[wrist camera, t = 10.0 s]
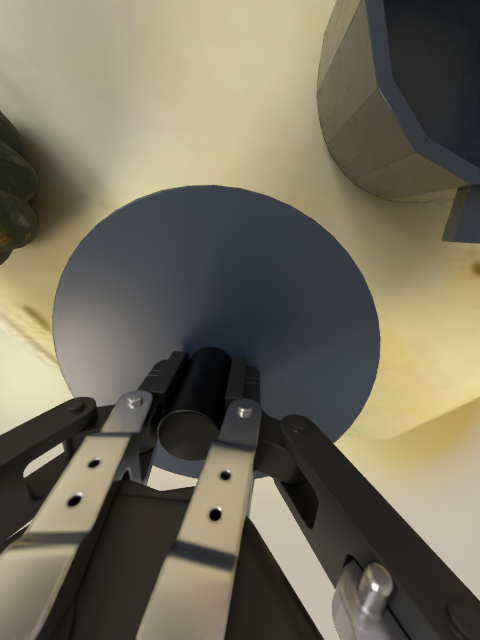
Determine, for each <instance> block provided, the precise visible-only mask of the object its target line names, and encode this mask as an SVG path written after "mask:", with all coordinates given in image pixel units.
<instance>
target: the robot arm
mask: <svg viewBox="0 0 480 640" xmlns="http://www.w3.org/2000/svg"><path fill="white" fill-rule="evenodd" d="M188 363H189V354H188V352H182V351H173V353H172V354H171V356H170V357H169V359H168V360H165V359H163V360H161V361H159V362H158V363H156V364H155V365H154V367H153V368H152V369H151V371H150V372H149V374H148V376H146V378H145V379H144V380H143V382H142V383H141V385H140V386H139V387H138V389H137V390H135V391H131V392H128V393H126V394H124V395H123V396H121V397H120V398H119V400H118V401H117V403H116V404H114V405H107V406H100V407H97V405H96V401H95V400H94V399H93V398H91V397H77V398H74V399H71V400H68V401H66V402H64V403H62V404H60V405H58V406H56V407H54V408H52V409H51V410H49V411H47V412H45V413H43V414H41V415H39V416H37V417H35V418H33V419H31V420H29V421H27V422H25V423H23V424H21V425H19V426H17V427H16V428H14V429H12V430H10V431H8V432H6V433H4V434H2V435H0V640H324V638H323V637H322V635H321V634H320V632H319V630H318V629H317V627H316V625H315V624H314V622H313V620H312V619H311V617H310V615H309V614H308V612H307V611H306V609H305V607H304V606H303V604H302V603H301V601H300V599H299V598H298V596H297V594H296V593H295V591H294V590H293V588H292V586H291V584H290V583H289V581H288V580H287V578H286V576H285V575H284V573H283V572H282V570H281V568H280V566H279V565H278V563H277V562H276V560H275V558H274V557H273V555H272V553H271V552H270V550H269V548H268V547H267V545H266V544H265V542H264V540H263V539H262V537H261V535H260V534H259V532H258V530H257V529H256V527H255V526H254V524H253V523H252V522H251V520H250V519H249V516H250V508H251V501H252V493H253V487H254V480H255V473H256V471H258V472H260V473H263V474H265V475H267V476H270V477H272V478H274V483H275V485H276V487H277V488H278V490H279V492H280V494H281V495H282V497H283V499H284V501H285V502H286V504H287V505H288V507H289V509H290V511H291V513H292V514H293V516H294V518H295V520H296V522H297V523H298V525H299V527H300V529H301V530H302V532H303V534H304V536H305V537H306V539H307V541H308V543H309V544H310V546H311V548H312V549H313V551H314V553H315V555H316V556H317V558H318V560H319V562H320V563H321V565H322V567H323V569H324V570H325V572H326V574H327V576H328V577H329V579H330V581H331V583H332V584H333V586H334V588H335V593H334V596H333V600H332V616H333V621H334V625H335V628H336V630H337V632H338V635H339V638H340V640H480V601H479V600H478V599H477V597H476V596H475V595H474V594H473V593H472V592H471V591H470V590H469V589H468V588H467V587H466V586H465V585H464V583H463V582H461V580H460V579H459V578H458V577H457V576H456V575H455V574H454V573H453V572H452V571H451V570H450V568H448V566H447V565H446V564H445V563H444V562H443V561H442V560H441V559H440V558H439V557H438V556H437V555H436V553H435V552H434V551H433V550H432V549H431V548H430V547H429V546H428V545H427V544H426V543H425V542H424V541H423V540H422V538H421V537H420V536H419V535H418V534H417V533H416V532H415V531H414V530H413V529H412V528H411V527H410V526H409V524H408V523H407V522H406V521H405V520H404V519H403V518H402V517H401V516H400V515H399V514H398V513H397V512H396V511H395V509H394V508H393V507H392V506H391V505H390V504H389V503H388V502H387V501H386V500H385V499H384V498H383V496H382V495H381V494H380V493H379V492H378V491H377V490H376V489H375V488H374V487H373V486H372V485H371V484H370V483H369V481H368V480H367V479H366V478H365V477H364V476H363V475H362V474H361V473H360V472H359V471H358V470H357V469H356V467H354V465H353V464H352V463H351V462H350V461H349V460H348V459H347V458H346V457H345V456H344V455H343V454H342V452H341V451H340V450H339V449H338V448H337V447H336V446H335V445H334V444H333V443H332V442H331V441H330V440H329V438H328V437H327V436H326V435H325V434H324V433H323V432H322V431H321V430H320V429H319V428H318V427H317V426H316V425H315V423H314V422H313V421H311V420H310V419H309V418H307V417H305V416H302V415H297V414H291V415H287V416H285V417H284V418H283V419H282V420H278V419H275V418H273V417H271V416H269V415H267V414H266V413H265V412H264V411H263V410H262V408H261V399H260V372H259V370H258V369H257V367H256V366H246V356H235V355H233V358H232V363H231V369H230V374H229V380H228V385H227V391H226V396H225V418H224V421H223V424H222V427H221V430H220V433H219V436H218V438H217V440H215V439H214V440H213V441H212V443H211V445H210V448H209V451H208V454H207V456H206V459H205V462H204V465H203V467H202V470H201V473H200V475H199V478H198V481H197V484H196V486H192V487H185V488H179V489H173V490H167V491H158V490H155V489H153V488H150V487H148V486H147V482H148V479H149V475H150V472H151V468H152V465H153V461H154V458H155V454H156V451H157V441H158V437H157V428H158V424H159V422H160V420H161V418H162V416H163V414H164V412H165V410H166V408H167V406H168V404H169V402H170V400H171V398H172V396H173V394H174V392H175V389H176V387H177V385H178V383H179V381H180V379H181V377H182V375H183V373H184V371H185V369H186V367H187V365H188ZM60 443H62V444H63V448H64V452H63V453H62V454H60V455H59V456H57V457H56V458H54V459H53V460H51V461H49V462H48V463H47V464H45V465H43V466H42V467H40V468H39V469H38V470H36V471H34V472H33V473H31V474H30V475H28V476H27V477H25V478H24V477H23V472H24V470H25V468H26V467H27V465H28V464H29V463H30V462H32V461H33V460H35V459H36V458H38V457H39V456H41V455H43V454H44V453H46V452H47V451H49V450H50V449H52V448H54V447H55V446H57V445H58V444H60ZM33 518H34V519H33ZM32 519H33V520H32ZM31 520H32V522H31V523H30V524H29V525H28V526H26V527H25V528H23V529H22V530H20V531H19V532H17V531H18V530H19V529H20V528H22V527H23V526H24V525H26V524H27V523H28V522H29V521H31ZM15 532H17V533H16V534H14V533H15ZM13 534H14V535H13ZM12 535H13V536H12ZM10 536H12V537H10ZM9 537H10V538H9Z"/></svg>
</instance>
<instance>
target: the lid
mask: <svg viewBox="0 0 480 640" xmlns="http://www.w3.org/2000/svg"><path fill="white" fill-rule="evenodd" d="M53 339H54V346H55V352H56V356H57V359H58V363H59V366H60V369H61V372H62V375H63V377H64V379H65V381H66V384H67V386H68V388H69V390H70V391H71V393H72V395H73V397H74V398H77V397H91V398H93V399H94V400H95V401H96V405H97V407H100V406H107V405H114V404H116V403H117V401H118V400H119V398H120V397H121V396H123V395H124V394H126V393H128V392H131V391H135V390H137V389H138V387H139V386H140V385H141V383H142V382H143V380H144V379H145V378H146V376H148V374H149V372H150V371H151V369H152V368H153V367H154V365H155V364H156V363H158V362H159V361H161V360H163V359H165V360H168V359H169V357H170V356H171V354H172V353H173V351H182V352H188V354H189V363H188V365H187V367H186V369H185V371H184V373H183V375H182V377H181V379H180V381H179V383H178V385H177V387H176V389H175V392H174V394H173V396H172V398H171V400H170V402H169V404H168V406H167V408H166V410H165V412H164V414H163V416H162V418H161V420H160V422H159V424H158V428H157V437H158V441H157V451H156V454H155V458H154V461H153V466H156V467H158V468H160V469H163V470H166V471H169V472H172V473H175V474H179V475H183V476H187V477H192V478H197V479H198V478H199V475H200V473H201V470H202V467H203V465H204V462H205V459H206V456H207V454H208V451H209V448H210V445H211V443H212V441H213V440H214V439H215V440H217V438H218V436H219V433H220V430H221V427H222V424H223V421H224V418H225V396H226V391H227V385H228V380H229V374H230V369H231V363H232V358H233V355H235V356H246V366H256V367H257V369H258V370H259V372H260V399H261V408H262V410H263V411H264V412H265V413H266V414H267V415H269V416H271V417H273V418H275V419H278V420H282V419H283V418H284V417H285V416H287V415H291V414H297V415H302V416H305V417H307V418H309V419H310V420H311V421H313V422H314V423H315V425H316V426H317V427H318V428H319V429H320V430H321V431H322V432H323V433H324V434H325V435H326V436H327V437H328V438H329V440H330V441H331V442H332V443H335V442H336V441H337V440H338V439H339V438H340V437H341V436H342V435H343V434H344V433H345V432H346V431H347V430H348V429H349V427H350V426H351V425H352V424H353V422H354V421H355V419H356V418H357V417H358V415H359V414H360V412H361V411H362V409H363V407H364V405H365V403H366V401H367V399H368V397H369V395H370V393H371V390H372V387H373V384H374V381H375V379H376V374H377V369H378V364H379V358H380V331H379V322H378V316H377V312H376V308H375V304H374V301H373V297H372V295H371V292H370V290H369V288H368V286H367V283H366V281H365V279H364V277H363V275H362V273H361V272H360V270H359V268H358V267H357V265H356V264H355V262H354V261H353V259H352V258H351V256H350V255H349V254H348V252H347V251H346V250H345V249H344V248H343V247H342V246H341V244H340V243H339V242H338V241H337V240H336V239H335V238H334V237H333V236H332V235H331V234H330V233H329V232H328V231H326V230H325V229H324V228H323V227H322V226H320V225H319V224H318V223H317V222H316V221H315V220H313V219H312V218H310V217H308V216H307V215H305V214H303V213H302V212H300V211H299V210H297V209H295V208H294V207H292V206H290V205H288V204H286V203H283V202H281V201H279V200H276V199H274V198H272V197H270V196H267V195H264V194H260V193H256V192H253V191H249V190H245V189H242V188H234V187H226V186H218V185H197V186H183V187H178V188H172V189H166V190H161V191H158V192H155V193H153V194H150V195H147V196H144V197H141V198H138V199H136V200H134V201H132V202H130V203H128V204H127V205H125V206H123V207H121V208H119V209H117V210H116V211H114V212H113V213H112V214H110V215H109V216H108V217H106V218H105V219H104V220H102V221H101V222H100V223H98V224H97V225H96V226H95V227H94V228H93V229H92V230H91V231H90V232H89V234H88V235H87V236H86V237H85V238H84V239H83V240H82V241H81V242H80V244H79V245H78V247H77V248H76V250H75V251H74V253H73V254H72V256H71V257H70V258H69V261H68V263H67V265H66V267H65V269H64V271H63V273H62V275H61V278H60V281H59V285H58V288H57V292H56V295H55V301H54V308H53ZM263 477H267V475H265V474H263V473H260V472H258V471H256V473H255V479H257V478H263Z"/></svg>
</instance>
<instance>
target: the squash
mask: <svg viewBox="0 0 480 640" xmlns="http://www.w3.org/2000/svg"><path fill="white" fill-rule="evenodd" d="M38 189H39V178H38V176H37V174H36V172H35V170H34V169H33V167H32V166H31V165H30V164H29V163H28V162H27V161H26V160H25V159H24V146H23V141H22V139H21V137H20V135H19V134H18V132H17V130H16V128H15V127H14V126H13V125H12V123H11V122H10V121H9V120H8V119H7V118H6V117H5V116H4V114H3V113H2V112H1V111H0V265H2V264H3V263H4V262H5V261H6V260H7V259H8V257H9V256H10V254H11V252H12V250H13V249H16V248H21V247H23V246H25V245H27V244H29V243H31V242H32V241H33V240H34V238H35V237H36V233H37V228H38V225H39V222H38V218H37V215H36V212H35V210H34V209H33V207H32V206H31V205H30V204H29V203H28V201H29V200H30V199H31V198H32V197H33V196H34V195H35V194H36V193H37V191H38Z"/></svg>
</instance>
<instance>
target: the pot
mask: <svg viewBox="0 0 480 640" xmlns="http://www.w3.org/2000/svg"><path fill="white" fill-rule="evenodd" d="M317 102H318V113H319V119H320V125H321V129H322V132H323V136H324V139H325V142H326V144H327V147H328V149H329V151H330V153H331V155H332V157H333V158H334V160H335V162H336V163H337V165H338V166H339V168H340V169H341V170H342V171H343V173H344V174H345V175H346V176H347V177H348V178H349V179H350V180H351V181H352V182H354V183H355V184H356V185H357V186H359V187H360V188H362V189H363V190H365V191H366V192H369V193H371V194H373V195H375V196H377V197H381V198H383V199H385V200H391V201H401V202H433V201H441V200H449V199H454V202H453V205H452V208H451V211H450V215H449V218H448V221H447V224H446V227H445V230H444V234H443V237H442V241H447V242H460V243H478V244H480V0H337V1H336V4H335V6H334V9H333V12H332V15H331V18H330V20H329V23H328V26H327V29H326V31H325V34H324V39H323V47H322V53H321V59H320V64H319V70H318V83H317Z"/></svg>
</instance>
